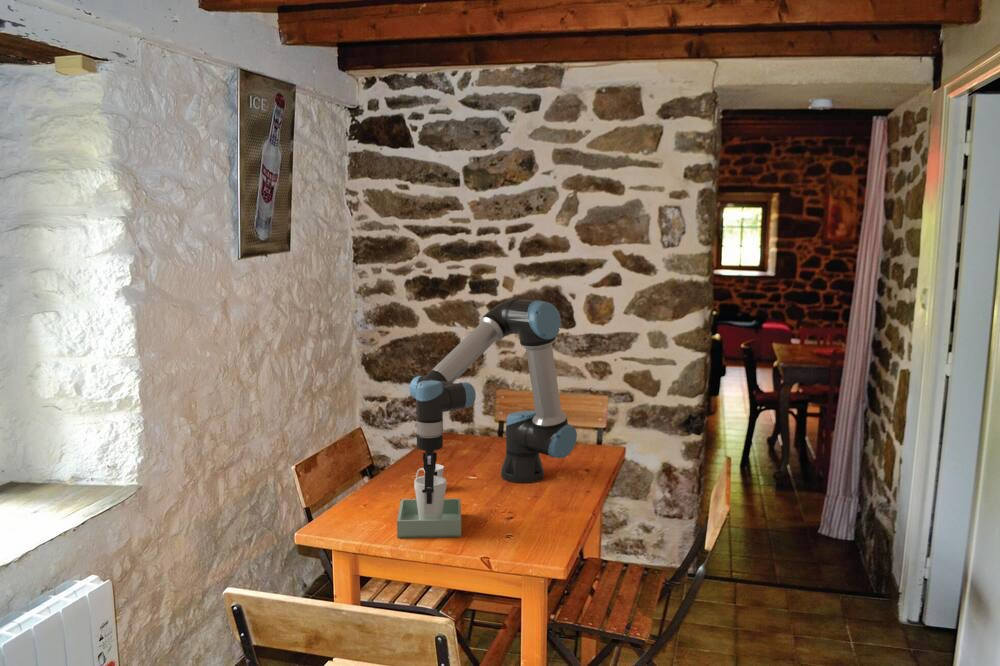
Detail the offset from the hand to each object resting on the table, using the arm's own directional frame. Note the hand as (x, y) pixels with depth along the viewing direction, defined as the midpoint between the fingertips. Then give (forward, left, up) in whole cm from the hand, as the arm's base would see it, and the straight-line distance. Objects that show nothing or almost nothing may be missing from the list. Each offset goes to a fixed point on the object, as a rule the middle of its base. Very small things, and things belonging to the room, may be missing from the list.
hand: (430, 505), depth 236 cm
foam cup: (0, 0, -6) cm, 6 cm away
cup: (+1, -32, -6) cm, 33 cm away
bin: (0, 0, -6) cm, 6 cm away
